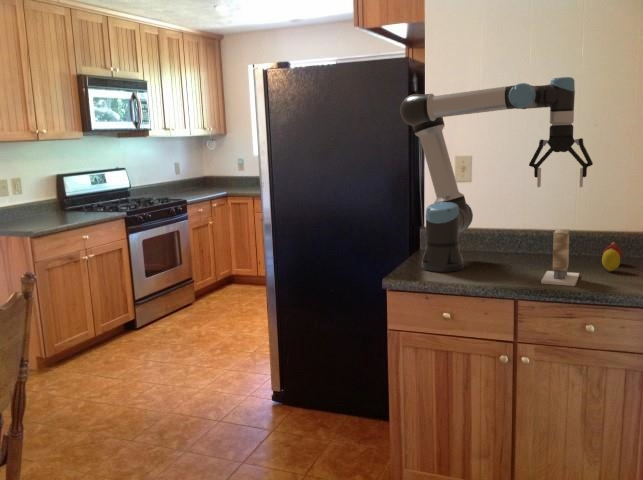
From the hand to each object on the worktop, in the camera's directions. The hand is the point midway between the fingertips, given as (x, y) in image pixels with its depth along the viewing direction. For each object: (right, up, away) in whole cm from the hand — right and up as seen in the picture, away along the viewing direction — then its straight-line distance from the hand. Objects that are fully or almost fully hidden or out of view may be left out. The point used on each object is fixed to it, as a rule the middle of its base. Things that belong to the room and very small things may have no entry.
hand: (559, 187), depth 204 cm
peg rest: (-4, -31, -11) cm, 33 cm away
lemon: (+16, -29, -3) cm, 34 cm away
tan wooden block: (-4, -27, -12) cm, 30 cm away
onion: (+22, -27, +7) cm, 36 cm away
